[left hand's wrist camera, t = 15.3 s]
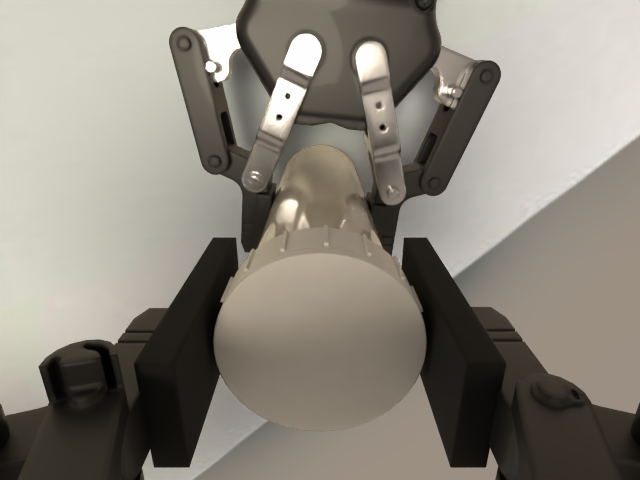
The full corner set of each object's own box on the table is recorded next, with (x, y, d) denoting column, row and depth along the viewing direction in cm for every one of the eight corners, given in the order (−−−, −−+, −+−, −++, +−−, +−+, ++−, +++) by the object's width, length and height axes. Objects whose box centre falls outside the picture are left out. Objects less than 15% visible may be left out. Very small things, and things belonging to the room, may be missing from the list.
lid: (188, 283, 12) (166, 318, 10) (357, 188, 11) (364, 209, 9) (290, 412, 14) (286, 460, 12) (444, 340, 13) (463, 381, 11)
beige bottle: (305, 130, 25) (282, 223, 10) (371, 168, 26) (444, 308, 11) (269, 196, 27) (202, 364, 11) (333, 230, 28) (350, 429, 12)
